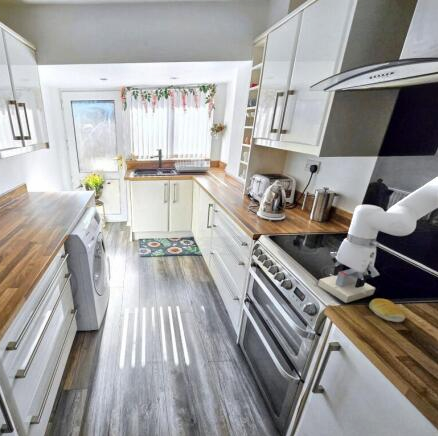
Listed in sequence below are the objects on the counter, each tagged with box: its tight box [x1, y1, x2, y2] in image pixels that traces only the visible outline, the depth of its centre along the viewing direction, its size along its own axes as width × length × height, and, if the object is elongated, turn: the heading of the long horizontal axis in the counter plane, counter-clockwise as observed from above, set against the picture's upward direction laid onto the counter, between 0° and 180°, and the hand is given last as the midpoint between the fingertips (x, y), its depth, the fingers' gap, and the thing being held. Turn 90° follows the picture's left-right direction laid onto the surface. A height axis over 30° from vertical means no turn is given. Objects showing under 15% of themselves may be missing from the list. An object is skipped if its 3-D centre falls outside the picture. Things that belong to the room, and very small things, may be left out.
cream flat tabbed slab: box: [317, 273, 376, 304], centre depth 93 cm, size 14×13×3 cm
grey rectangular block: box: [335, 268, 360, 287], centre depth 91 cm, size 9×2×6 cm, turn 107°
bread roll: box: [368, 298, 407, 323], centre depth 81 cm, size 8×9×4 cm
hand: (347, 280), depth 92 cm, fingers open, 7 cm apart
